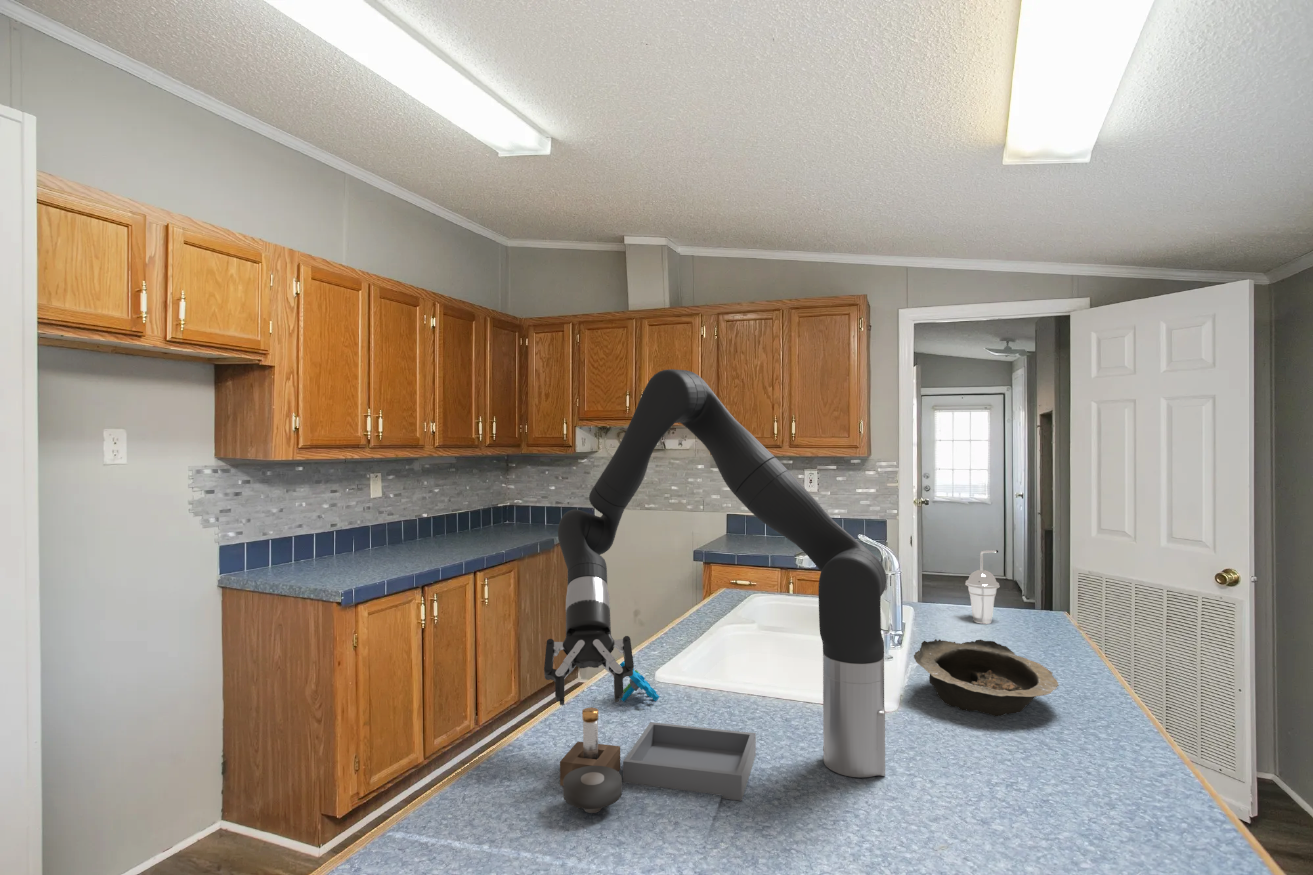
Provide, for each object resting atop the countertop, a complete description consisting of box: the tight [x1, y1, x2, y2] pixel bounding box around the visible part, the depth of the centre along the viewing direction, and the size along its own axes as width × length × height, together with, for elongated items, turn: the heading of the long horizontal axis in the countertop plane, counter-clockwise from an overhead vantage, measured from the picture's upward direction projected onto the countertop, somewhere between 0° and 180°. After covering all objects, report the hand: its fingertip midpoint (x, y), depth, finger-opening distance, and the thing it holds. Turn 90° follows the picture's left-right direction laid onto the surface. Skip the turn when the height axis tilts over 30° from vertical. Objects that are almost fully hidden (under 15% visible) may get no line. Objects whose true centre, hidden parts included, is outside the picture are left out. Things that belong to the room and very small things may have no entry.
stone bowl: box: [913, 638, 1060, 717], centre depth 138 cm, size 25×25×9 cm
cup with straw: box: [965, 549, 1001, 625], centre depth 193 cm, size 8×9×20 cm
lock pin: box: [581, 707, 599, 760], centre depth 108 cm, size 2×2×10 cm
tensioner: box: [559, 741, 623, 814], centre depth 104 cm, size 11×16×5 cm
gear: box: [619, 660, 660, 703], centre depth 140 cm, size 11×6×10 cm
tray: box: [622, 721, 757, 802], centre depth 111 cm, size 18×15×4 cm
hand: (589, 701), depth 112 cm, fingers open, 8 cm apart
